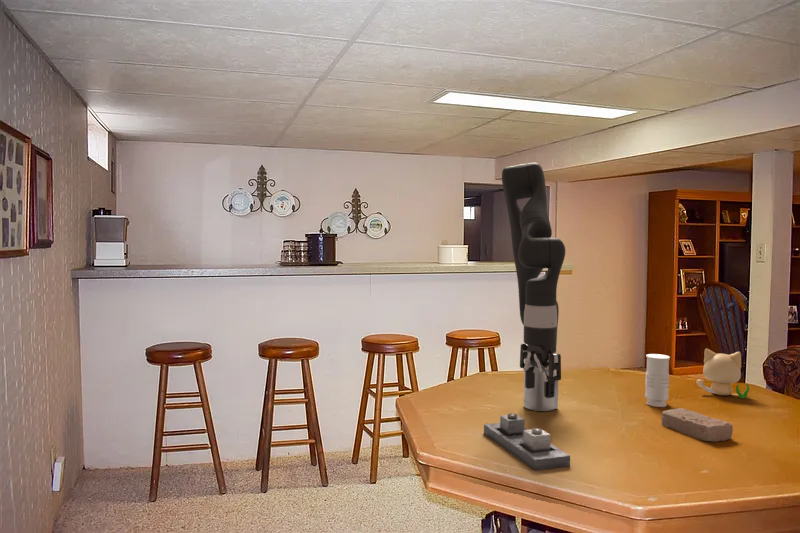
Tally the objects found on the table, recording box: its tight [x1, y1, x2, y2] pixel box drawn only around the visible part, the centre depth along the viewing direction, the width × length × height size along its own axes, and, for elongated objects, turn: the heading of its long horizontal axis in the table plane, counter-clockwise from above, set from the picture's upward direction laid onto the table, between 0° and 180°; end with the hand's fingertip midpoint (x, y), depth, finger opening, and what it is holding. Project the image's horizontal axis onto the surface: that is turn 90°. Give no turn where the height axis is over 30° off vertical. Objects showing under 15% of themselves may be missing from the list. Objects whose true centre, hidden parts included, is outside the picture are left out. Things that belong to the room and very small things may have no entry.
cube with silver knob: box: [523, 427, 551, 453], centre depth 143 cm, size 4×4×7 cm
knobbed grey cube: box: [499, 412, 526, 436], centre depth 154 cm, size 4×4×7 cm
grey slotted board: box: [483, 422, 571, 471], centre depth 149 cm, size 9×26×2 cm, turn 18°
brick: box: [661, 407, 734, 443], centre depth 163 cm, size 16×8×5 cm, turn 22°
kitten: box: [696, 348, 750, 399], centre depth 200 cm, size 15×10×15 cm
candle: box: [644, 353, 671, 408], centre depth 188 cm, size 7×7×15 cm
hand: (539, 392), depth 142 cm, fingers open, 8 cm apart
